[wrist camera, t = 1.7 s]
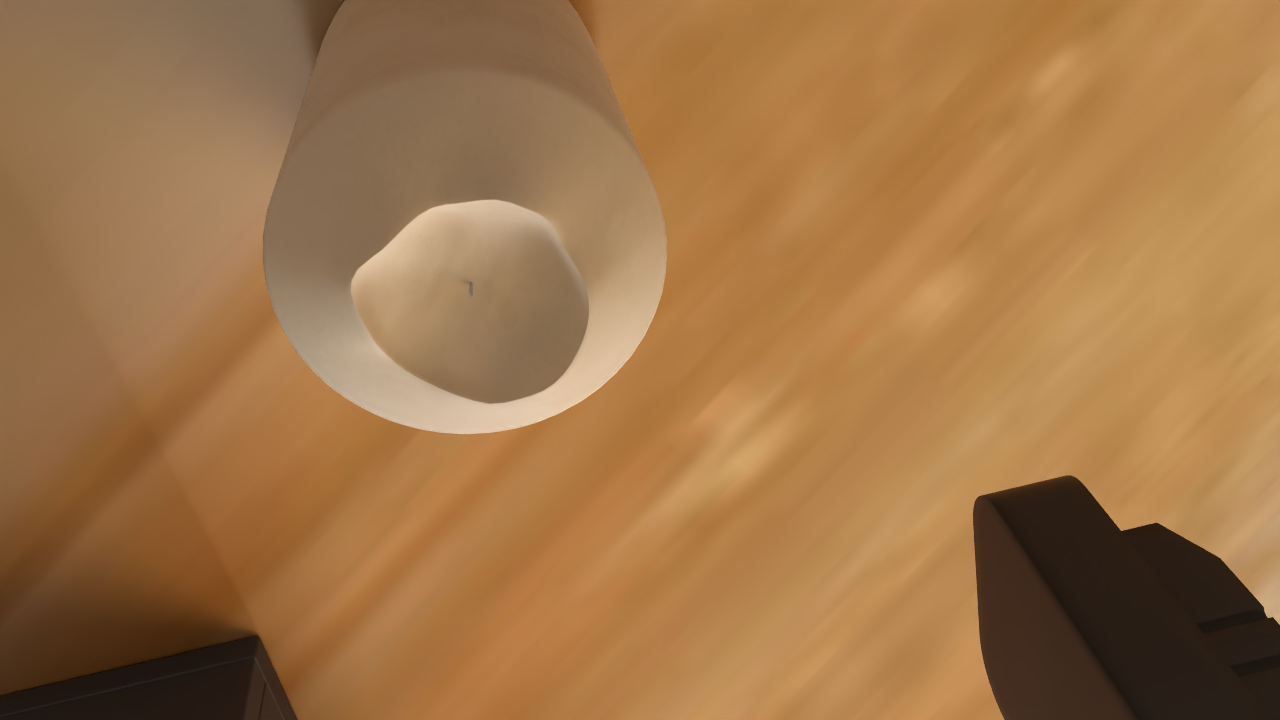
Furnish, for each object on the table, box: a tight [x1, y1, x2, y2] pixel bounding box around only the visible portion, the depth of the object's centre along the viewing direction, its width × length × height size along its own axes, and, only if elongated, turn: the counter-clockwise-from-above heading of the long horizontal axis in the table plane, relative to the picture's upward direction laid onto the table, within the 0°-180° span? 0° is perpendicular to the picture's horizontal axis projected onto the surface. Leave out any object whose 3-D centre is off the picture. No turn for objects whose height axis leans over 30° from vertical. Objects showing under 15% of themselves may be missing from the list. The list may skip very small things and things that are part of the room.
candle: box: [263, 0, 667, 434], centre depth 20 cm, size 6×6×10 cm
